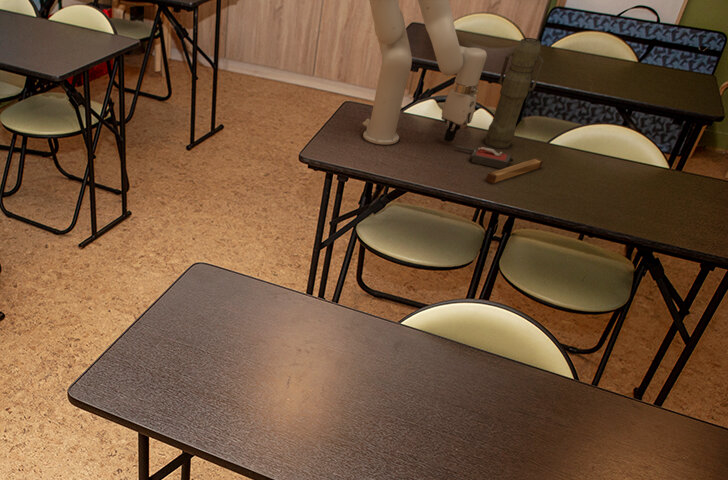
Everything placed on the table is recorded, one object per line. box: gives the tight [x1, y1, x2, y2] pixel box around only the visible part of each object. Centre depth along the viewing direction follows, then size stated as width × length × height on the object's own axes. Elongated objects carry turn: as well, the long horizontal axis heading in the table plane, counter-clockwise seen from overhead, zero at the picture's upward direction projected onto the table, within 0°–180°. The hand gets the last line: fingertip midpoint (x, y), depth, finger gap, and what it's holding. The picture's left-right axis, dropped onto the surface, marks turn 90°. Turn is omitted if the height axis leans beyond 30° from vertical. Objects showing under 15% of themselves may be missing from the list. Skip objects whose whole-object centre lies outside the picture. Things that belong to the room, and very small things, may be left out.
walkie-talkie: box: [453, 144, 514, 170], centre depth 233 cm, size 9×4×20 cm
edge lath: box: [485, 157, 544, 184], centre depth 226 cm, size 3×24×3 cm, turn 122°
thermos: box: [484, 37, 544, 149], centre depth 234 cm, size 9×12×35 cm
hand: (448, 140), depth 243 cm, fingers closed
